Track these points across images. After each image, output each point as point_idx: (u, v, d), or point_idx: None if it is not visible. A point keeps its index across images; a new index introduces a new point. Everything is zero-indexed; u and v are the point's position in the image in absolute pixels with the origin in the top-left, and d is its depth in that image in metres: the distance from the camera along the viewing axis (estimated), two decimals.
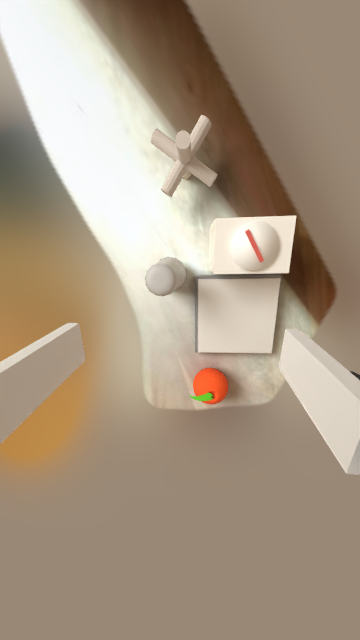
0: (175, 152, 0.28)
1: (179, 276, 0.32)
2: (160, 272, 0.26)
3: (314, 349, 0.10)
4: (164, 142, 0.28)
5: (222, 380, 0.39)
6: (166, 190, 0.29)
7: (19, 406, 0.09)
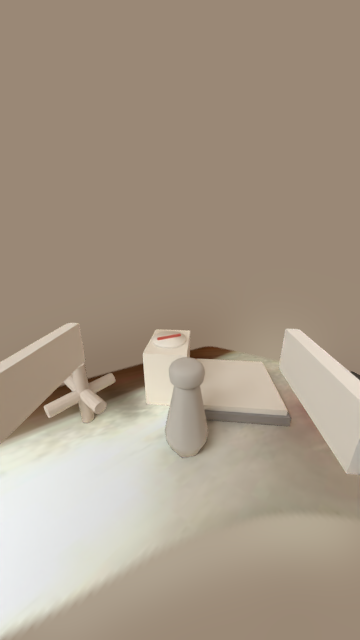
0: (74, 393, 0.30)
1: None
2: (178, 362, 0.25)
3: (314, 349, 0.10)
4: (60, 399, 0.29)
5: None
6: (99, 401, 0.28)
7: (19, 406, 0.09)
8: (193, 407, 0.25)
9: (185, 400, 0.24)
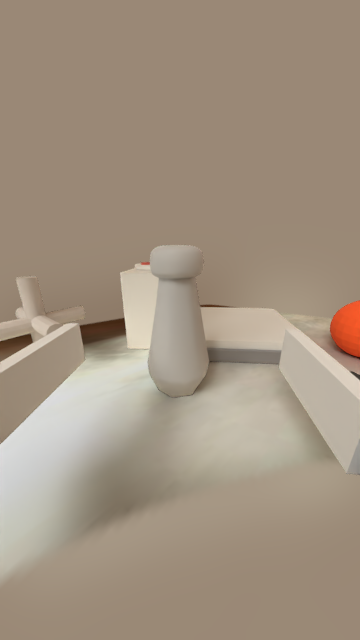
0: (23, 319, 0.22)
1: None
2: None
3: (314, 349, 0.10)
4: (0, 323, 0.20)
5: None
6: (54, 323, 0.20)
7: (19, 406, 0.09)
8: (186, 313, 0.16)
9: (175, 300, 0.16)
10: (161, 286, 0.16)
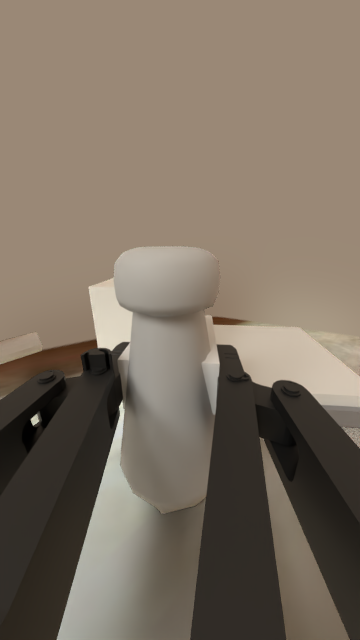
0: None
1: None
2: None
3: (207, 328, 0.12)
4: None
5: None
6: None
7: None
8: (186, 381, 0.08)
9: (163, 358, 0.08)
10: (137, 327, 0.08)
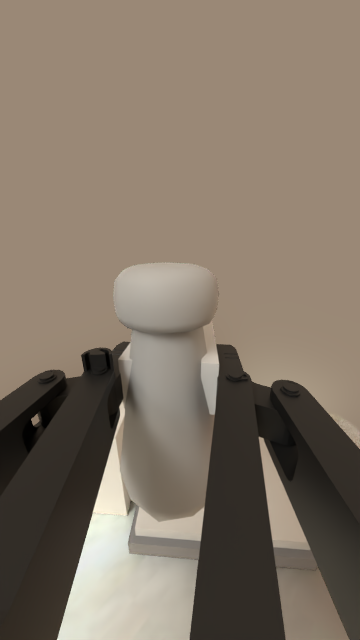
0: None
1: None
2: (142, 264, 0.09)
3: (207, 328, 0.12)
4: None
5: None
6: None
7: None
8: (182, 396, 0.08)
9: (159, 373, 0.08)
10: (136, 342, 0.09)
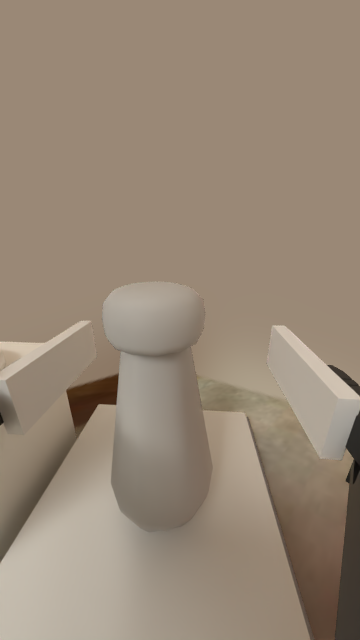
0: None
1: None
2: (130, 284, 0.09)
3: (296, 344, 0.10)
4: None
5: None
6: None
7: (40, 399, 0.09)
8: (169, 413, 0.09)
9: (147, 392, 0.08)
10: (125, 360, 0.09)
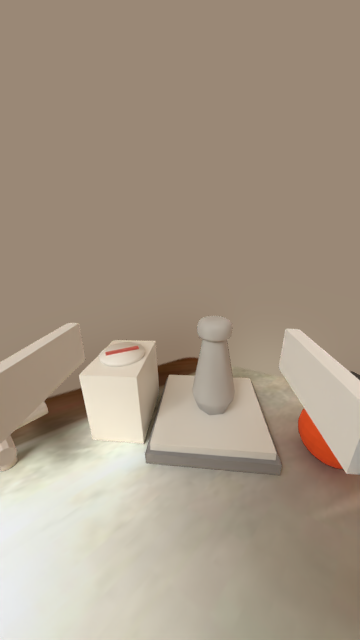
0: None
1: None
2: (206, 318, 0.26)
3: (314, 349, 0.10)
4: None
5: None
6: (3, 448, 0.20)
7: (19, 406, 0.09)
8: (220, 362, 0.25)
9: (213, 354, 0.25)
10: (204, 344, 0.26)
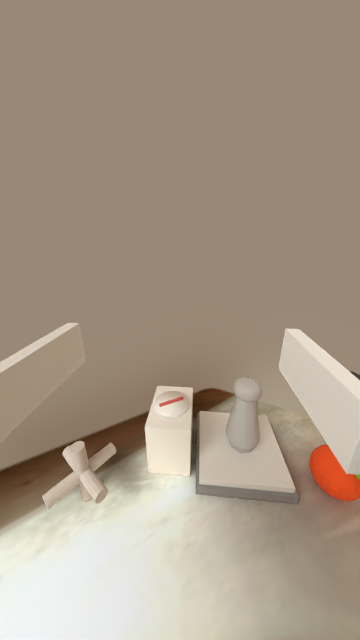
0: (74, 476, 0.29)
1: None
2: (241, 381, 0.33)
3: (314, 349, 0.10)
4: (59, 486, 0.28)
5: (316, 449, 0.33)
6: (100, 489, 0.27)
7: (19, 406, 0.09)
8: (252, 415, 0.33)
9: (247, 410, 0.33)
10: (240, 401, 0.33)
